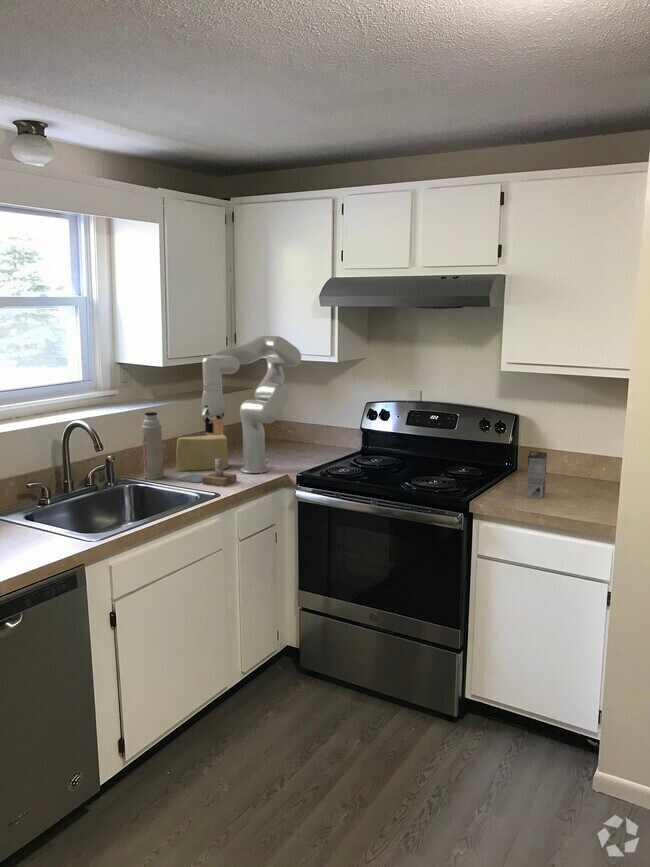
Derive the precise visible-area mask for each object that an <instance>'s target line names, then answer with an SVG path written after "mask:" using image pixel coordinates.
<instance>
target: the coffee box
mask: <svg viewBox="0 0 650 867" xmlns="http://www.w3.org/2000/svg"><path fill="white" fill-rule="evenodd" d="M527 457H528V458H527V476H526V477H527V478H526V482H527V483H526V497H527V498H533V499H543V498H544V496H545V493H546V482H547V480H546V479H547V457H548V452H546V451H545V452H542V451H535V450H534V451H530V452H529V454H528V455H527Z"/></svg>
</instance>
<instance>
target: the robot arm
mask: <svg viewBox="0 0 650 867" xmlns="http://www.w3.org/2000/svg"><path fill="white" fill-rule="evenodd" d="M265 357H266V358H265ZM263 358H265V359H266V363H267V372H266V374H265V375H264V378H263V379H262V380H261V382H260V383H259V384H258V386H257V387H256V389H255V391H254V399H247V400H245V401H243V402H242V403H241V405H240V406H239V416H240V419H241V420H240V421H241V425H242V426H241V428H242V447H243V448H242V454H243V455H242V458H243V466H241V467H240V469H239V470H240V471H239V472H240V473H242V472H244V473H243V474H247V473H260V474H264V473H263V472H265V473H267V471H268V470H269V471H270V467H269V466H267V465H266V464H269V463H270V459H269V458H266V441H265V440H266V439H265V438H266V437H265V436H266V433H265V428H264V425H263V424H273V423H274V422H276V421H277V419H278V417H279V416H280V414H282V412H283V410H284V409H285V407H286V405H287V404H288V402H289V400H290V395H291V394H290V392H291V391H290V389H289V387H288V386H287V385H286V384H285V383H284V382H285V374H284V371H283V367H287V368H288V367H289V368H290V367H291V368H292V367H297V366H298V365H299V364H300V363H301V361H302V354H301V351H300V350H299V349H298V347H296V346H295V345H293V344H292V343H291V342H289V341H288V340H287V339H285V338H283V337H282V336H276V335H263V336H259V337H256V338H255V339H253V340H251V341H249V342H246V343H244V344H240V345H237V346H233V347H229V348H225V349H222V350H220V351H217V352H215V353H213V354H211V355H210V356H207V357H203V359H202V380H203V381H202V383H203V384H202V388H203V392H202V394H201V395H202V397H201V418H202V419H203V421H204V425H205V428H204V429H205V434H206V433H213V423H212V418H213V417H215V418H219V419H222V420H224V415H225V412H226V409H225V405H224V404H225V403H224V394H223V382H222V381H223V374H224V375H233V374H235V373H237V372H238V370H239V369H240V365H249V364H252V363H254V362H256V361H259V360H260V359H263ZM269 471H268V472H269Z"/></svg>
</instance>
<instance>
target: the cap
mask: <svg viewBox="0 0 650 867" xmlns="http://www.w3.org/2000/svg"><path fill="white" fill-rule="evenodd" d="M223 420H224V419H223ZM223 420H222V419H219V418H216V417H215V418H212V423H213V433H206V432H205V434H206V435H222V434H223V435H224V421H223Z"/></svg>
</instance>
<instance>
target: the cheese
mask: <svg viewBox="0 0 650 867" xmlns="http://www.w3.org/2000/svg"><path fill="white" fill-rule="evenodd" d="M228 452H229V451H228V437H227V436H226V435H225V434H224V433H223V434H222V435H207V434H206V435H198V436H183V437H178V438H177V442H176V452H175V454H176V455H175V456H176V471H177V472H188V471H187V470H195V471H210V470H209V469H213V470H215V459H217V458H222V459H223V470H227V469H226V468H229V459H228Z"/></svg>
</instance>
